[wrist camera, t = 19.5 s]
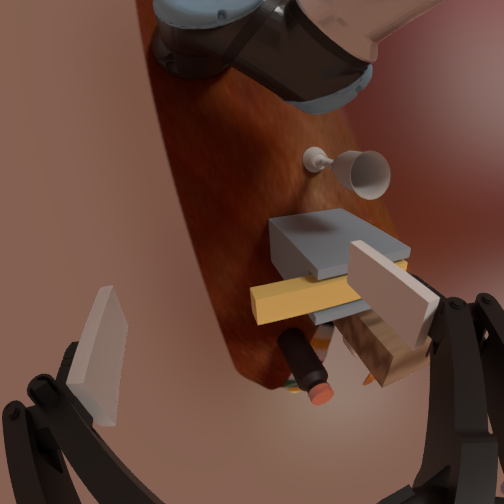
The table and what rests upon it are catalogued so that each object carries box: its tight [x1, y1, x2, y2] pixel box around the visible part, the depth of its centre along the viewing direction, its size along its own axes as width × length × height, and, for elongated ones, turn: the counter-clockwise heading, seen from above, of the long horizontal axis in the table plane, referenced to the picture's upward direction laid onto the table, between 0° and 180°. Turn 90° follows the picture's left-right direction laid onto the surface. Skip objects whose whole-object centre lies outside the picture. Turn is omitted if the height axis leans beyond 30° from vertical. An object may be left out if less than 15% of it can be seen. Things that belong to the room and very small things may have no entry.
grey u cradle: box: [268, 208, 411, 325], centre depth 47 cm, size 9×16×22 cm, turn 95°
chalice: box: [303, 147, 390, 200], centre depth 43 cm, size 7×7×18 cm
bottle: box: [278, 329, 334, 405], centre depth 59 cm, size 7×7×20 cm
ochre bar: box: [250, 259, 407, 325], centre depth 38 cm, size 4×24×3 cm, turn 96°
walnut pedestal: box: [332, 308, 432, 388], centre depth 52 cm, size 8×14×28 cm, turn 95°
